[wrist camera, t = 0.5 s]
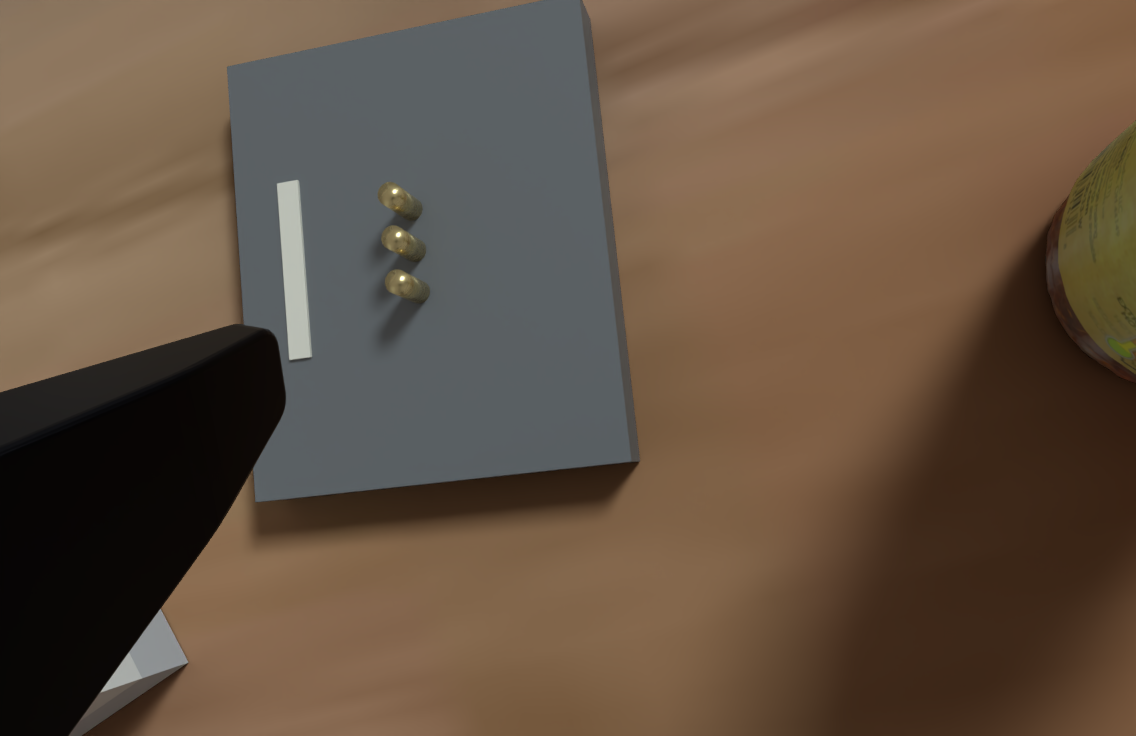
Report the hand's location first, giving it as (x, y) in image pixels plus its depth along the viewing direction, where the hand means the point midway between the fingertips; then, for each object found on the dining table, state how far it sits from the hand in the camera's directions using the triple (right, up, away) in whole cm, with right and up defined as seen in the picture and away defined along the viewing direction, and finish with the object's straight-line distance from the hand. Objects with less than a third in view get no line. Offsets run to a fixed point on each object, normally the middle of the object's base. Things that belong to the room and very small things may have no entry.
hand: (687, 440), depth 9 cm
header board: (-5, +4, +17) cm, 18 cm away
